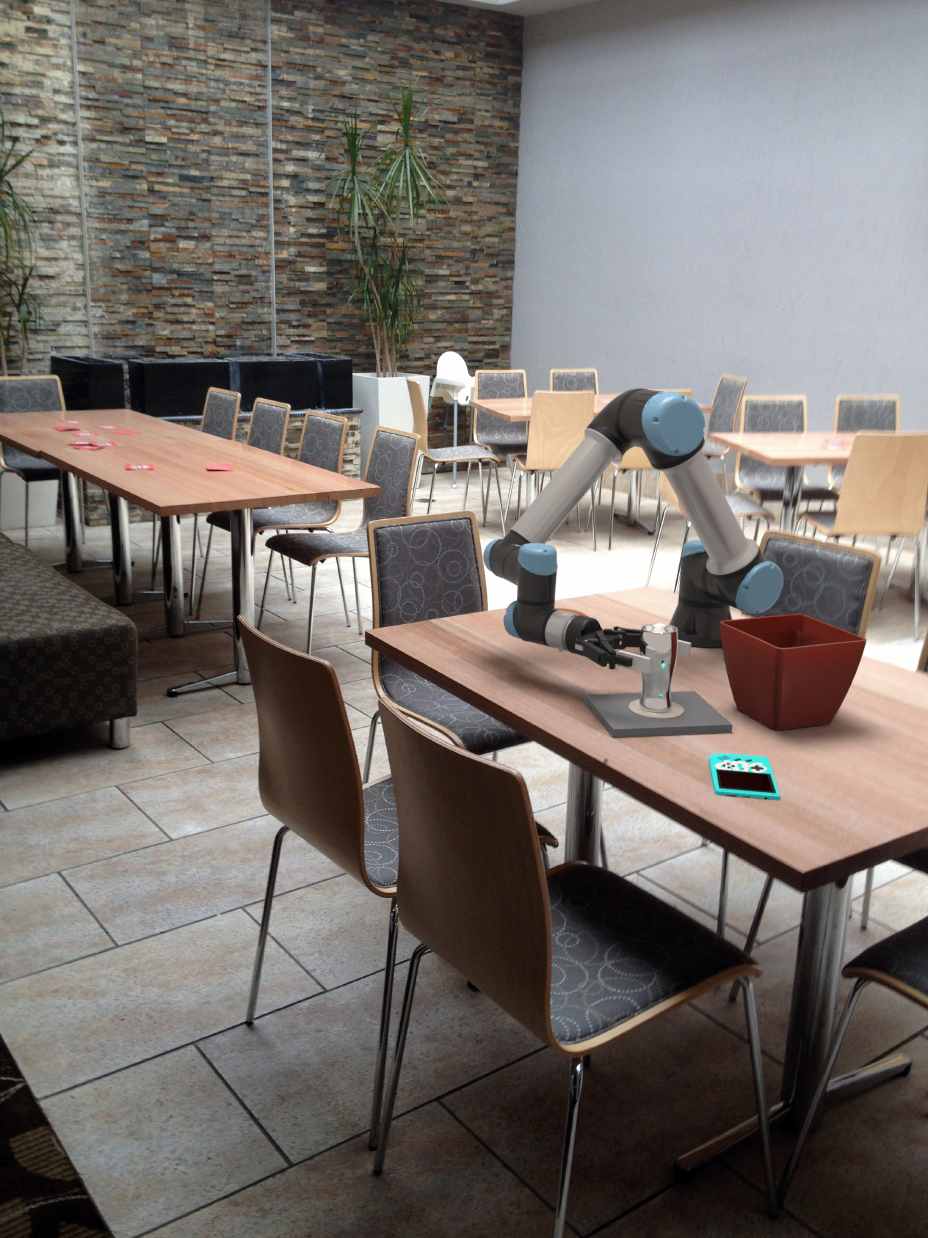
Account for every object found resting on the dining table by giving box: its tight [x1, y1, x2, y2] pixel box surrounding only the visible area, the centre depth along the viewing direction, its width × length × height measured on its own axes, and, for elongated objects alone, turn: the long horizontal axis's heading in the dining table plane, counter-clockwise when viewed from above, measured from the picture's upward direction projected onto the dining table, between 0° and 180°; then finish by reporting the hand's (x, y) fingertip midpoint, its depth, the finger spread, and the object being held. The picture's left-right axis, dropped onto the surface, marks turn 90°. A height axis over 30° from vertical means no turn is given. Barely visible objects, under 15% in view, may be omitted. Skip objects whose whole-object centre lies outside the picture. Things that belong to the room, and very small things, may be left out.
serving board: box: [583, 690, 733, 738], centre depth 201 cm, size 22×18×2 cm
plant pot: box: [720, 613, 868, 731], centre depth 202 cm, size 19×19×17 cm
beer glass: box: [638, 623, 679, 712], centre depth 199 cm, size 7×7×15 cm
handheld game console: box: [708, 753, 781, 801], centre depth 176 cm, size 10×16×1 cm, turn 172°
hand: (670, 658), depth 197 cm, fingers open, 13 cm apart
